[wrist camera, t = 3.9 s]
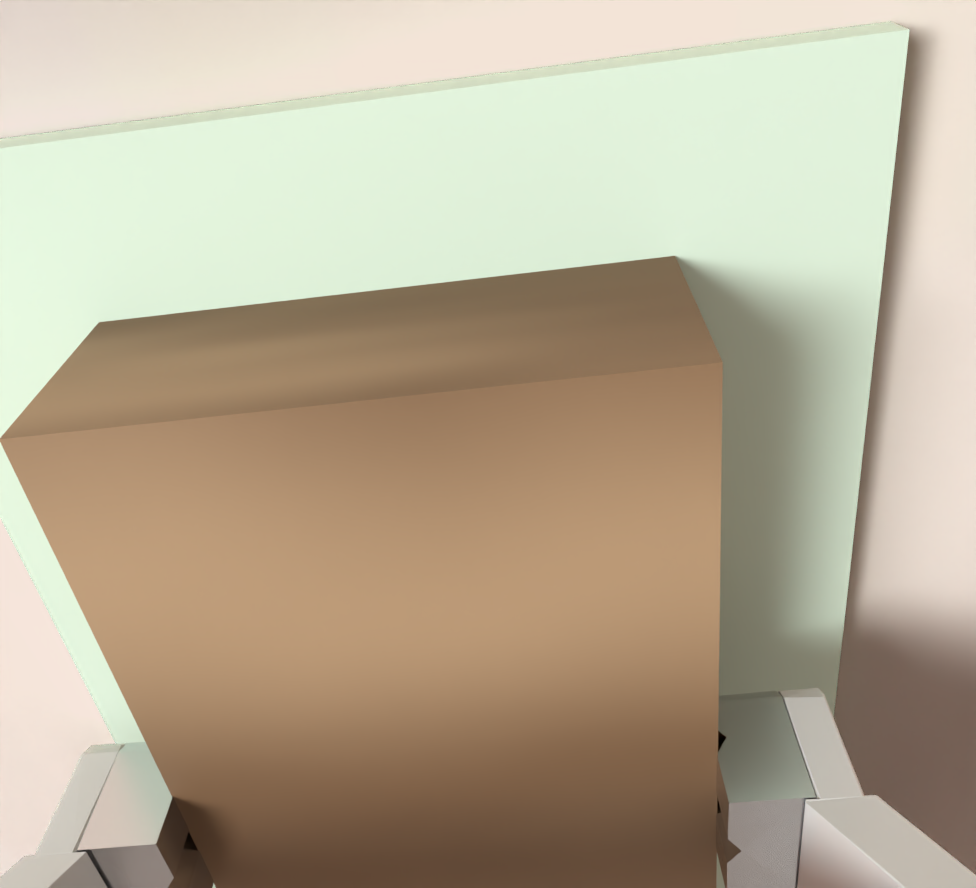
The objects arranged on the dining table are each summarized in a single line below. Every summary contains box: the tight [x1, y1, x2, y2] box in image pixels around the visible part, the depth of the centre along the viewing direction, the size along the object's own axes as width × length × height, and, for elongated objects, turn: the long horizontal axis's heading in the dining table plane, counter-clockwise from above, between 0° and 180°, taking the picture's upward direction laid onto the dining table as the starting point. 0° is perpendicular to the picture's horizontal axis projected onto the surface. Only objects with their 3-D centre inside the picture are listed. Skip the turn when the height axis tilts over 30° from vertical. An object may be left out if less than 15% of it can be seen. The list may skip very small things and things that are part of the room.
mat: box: [0, 21, 910, 888], centre depth 14 cm, size 16×11×1 cm
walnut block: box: [0, 256, 723, 888], centre depth 12 cm, size 12×6×2 cm, turn 7°
